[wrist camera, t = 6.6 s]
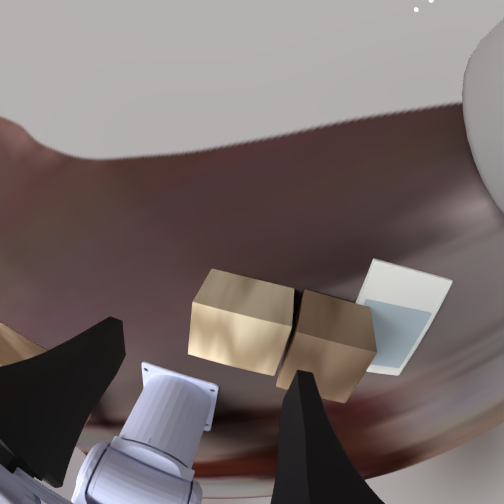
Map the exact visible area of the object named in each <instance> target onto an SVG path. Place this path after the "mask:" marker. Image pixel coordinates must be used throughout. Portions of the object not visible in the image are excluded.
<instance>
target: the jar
mask: <svg viewBox="0 0 504 504" xmlns="http://www.w3.org/2000/svg"><path fill="white" fill-rule="evenodd" d="M429 1H430V2H433V0H429ZM414 10H415V11H416V12H417V11H418V9H417V8H415V9H414ZM462 100H463V117H464V122H465V127H466V133H467V139H468V142H469V145H470V148H471V152H472V155H473V158H474V162H475V164H476V166H477V169H478V171H479V173H480V176H481V178H482V181H483V183H484V185H485V187H486V188H487V190H488V192H489V194H490V195H491V197H492V199H493V201H494V203H495V204H496V205H497V206H498V208H499V209H500V210H501V212H502V213H503V214H504V19H503V20H502V21H500V23H498V25H496V26H495V27H494V28H493V29H492V30H491V31H490V32H489V33H488V34H487V35H486V36H485V37H484V38H483V39H482V40H481V41H480V43H479V44H478V46H477V48H476V49H475V51H474V52H473V54H472V55H471V57H470V58H469V61H468V64H467V67H466V70H465V73H464V80H463V90H462Z"/></svg>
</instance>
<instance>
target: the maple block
mask: <svg viewBox="0 0 504 504" xmlns="http://www.w3.org/2000/svg"><path fill="white" fill-rule="evenodd" d="M293 303H294V288H289V287H285V286H281V285H277V284H273V283H269V282H264V281H260V280H256V279H252V278H248V277H244V276H240V275H236V274H232V273H228V272H224V271H220V270H216V269H211V271H210V273H209V274H208V276H207V278H206V280H205V281H204V283H203V285H202V287H201V288H200V290H199V292H198V294H197V295H196V297H195V299H194V301H193V305H192V315H191V325H190V336H189V347H188V354H190V355H193V356H197V357H200V358H204V359H207V360H211V361H214V362H218V363H222V364H226V365H230V366H234V367H238V368H242V369H246V370H250V371H254V372H258V373H263V374H267V375H272V376H274V374H275V372H276V369H277V367H278V364H279V361H280V359H281V356H282V353H283V350H284V348H285V345H286V342H287V339H288V337H289V334H290V331H291V328H292V320H293Z"/></svg>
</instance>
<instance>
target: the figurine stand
mask: <svg viewBox="0 0 504 504" xmlns="http://www.w3.org/2000/svg"><path fill="white" fill-rule="evenodd" d="M46 351H47V350H45V349H44V348H42V347H40V346H38V345H37V344H35V343H33V342H31V341H30V340H28V339H26V338H25V337H23V336H22V335H20V334H18V333H17V332H15V331H13V330H12V329H10V328H9V327H7V326H6V325H4V324H3V323H1V322H0V366H5V365H9V364H12V363H16V362H19V361H22V360H26V359H29V358H31V357H34V356H37V355H39V354H42V353H44V352H46ZM90 416H91V414H90V415H89V417H88V419H87V421H88V420H89V418H90ZM87 421H86V423H87ZM86 423H85V425H86ZM85 425H84V426H85ZM83 428H84V427H83Z"/></svg>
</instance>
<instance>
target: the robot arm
mask: <svg viewBox="0 0 504 504" xmlns="http://www.w3.org/2000/svg"><path fill="white" fill-rule="evenodd" d="M125 355H126V353H125V344H124V334H123V323H122V321H121V320H119V319H116V318H113V317H111V316H110V317H108V318H106V319H104V320H103V321H101V322H99V323H98V324H96V325H94V326H93V327H91V328H89V329H87V330H86V331H84V332H82V333H81V334H79V335H77V336H75V337H74V338H72V339H70V340H68V341H66V342H64V343H62V344H60V345H58V346H56V347H55V348H53V349H51V350H48V351H46V352H44V353H42V354H39V355H37V356H34V357H31V358H29V359H26V360H22V361H19V362H16V363H12V364H9V365H5V366H0V504H41V501H40V499H41V500H42V501H44V502H46V503H47V504H201V500H202V489H201V487H200V485H199V482H198V481H195V480H192V479H193V475H194V472H195V471H194V470H192V469H191V468H192V464H193V461H194V458H195V455H196V452H197V449H198V446H199V443H200V440H201V436H202V433H203V430H205V431H210V430H211V425H212V420H213V415H214V410H215V405H216V400H217V394H218V389H219V386H218V385H217V384H215V383H211V382H207V381H204V380H200V379H197V378H193V377H190V376H187V375H184V374H180V373H177V372H174V371H171V370H168V369H165V368H162V367H159V366H156V365H153V364H150V363H147V362H143V363H142V374H143V385H144V389H143V391H142V393H141V395H140V397H139V399H138V400H137V402H136V404H135V406H134V408H133V410H132V412H131V414H130V416H129V417H128V419H127V421H126V423H125V425H124V427H123V429H122V431H121V433H120V435H119V437H117V436H115V437H114V439H113V441H112V442H111V443H109V442H107V441H102V442H99V443H96V444H95V445H94V446H93V447H92V449H91V450H90V452H89V453H88V455H87V457H86V458H85V461H84V462H83V464H82V467H81V469H80V471H79V474H78V477H77V481H76V489H75V491H74V494H73V496H72V499H71V501H72V502H70V501H68V500H67V499H65V498H63V497H61V496H60V495H58V494H57V493H55V492H53V491H52V490H50V489H48V488H47V487H46V486H44V485H43V484H41V483H39V482H38V481H37V480H35V479H34V477H36V478H37V479H39V480H40V481H42V480H44V481H45V482H47V483H48V484H50V485H51V486H53V487H54V488H59V487H62V485H63V481H64V478H65V474H66V471H67V468H68V464H69V462H70V459H71V456H72V453H73V451H74V448H75V446H76V443H77V441H78V438H79V436H80V434H81V432H82V430H83V427H84V425H85V423H86V421H87V419H88V417H89V415H90V414H91V412H92V410H93V409H94V407H95V406H96V404H97V403H98V401H99V400H100V398H101V397H102V395H103V394H104V392H105V391H106V389H107V388H108V386H109V385H110V383H111V382H112V380H113V379H114V377H115V375H116V374H117V372H118V370H119V368H120V366H121V364H122V362H123V360H124V358H125ZM145 368H147V369H148V370H146V369H145ZM211 389H214V390H215V391H212V390H211ZM206 424H208V425H206ZM271 504H385V503H384V502H383V501H382V500H380V498H379V497H378V496H377V495H376V494H375V493H374V492H373V491H372V489H371V488H370V487H369V486H368V484H367V483H366V482H365V480H364V479H363V478H362V476H361V475H360V474H359V472H358V471H357V470H356V468H355V467H354V465H353V464H352V462H351V460H350V459H349V457H348V456H347V454H346V452H345V450H344V449H343V447H342V445H341V443H340V441H339V439H338V437H337V435H336V433H335V431H334V429H333V427H332V424H331V422H330V420H329V417H328V415H327V412H326V410H325V407H324V405H323V402H322V399H321V396H320V393H319V390H318V387H317V384H316V381H315V377H314V374H313V373H312V372H308V371H302V370H297V371H296V373H295V375H294V378H293V380H292V382H291V384H290V386H289V389H288V391H287V393H286V395H285V397H284V399H283V404H282V410H281V416H280V422H279V439H278V457H277V471H276V479H275V484H274V489H273V494H272V499H271Z"/></svg>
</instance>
